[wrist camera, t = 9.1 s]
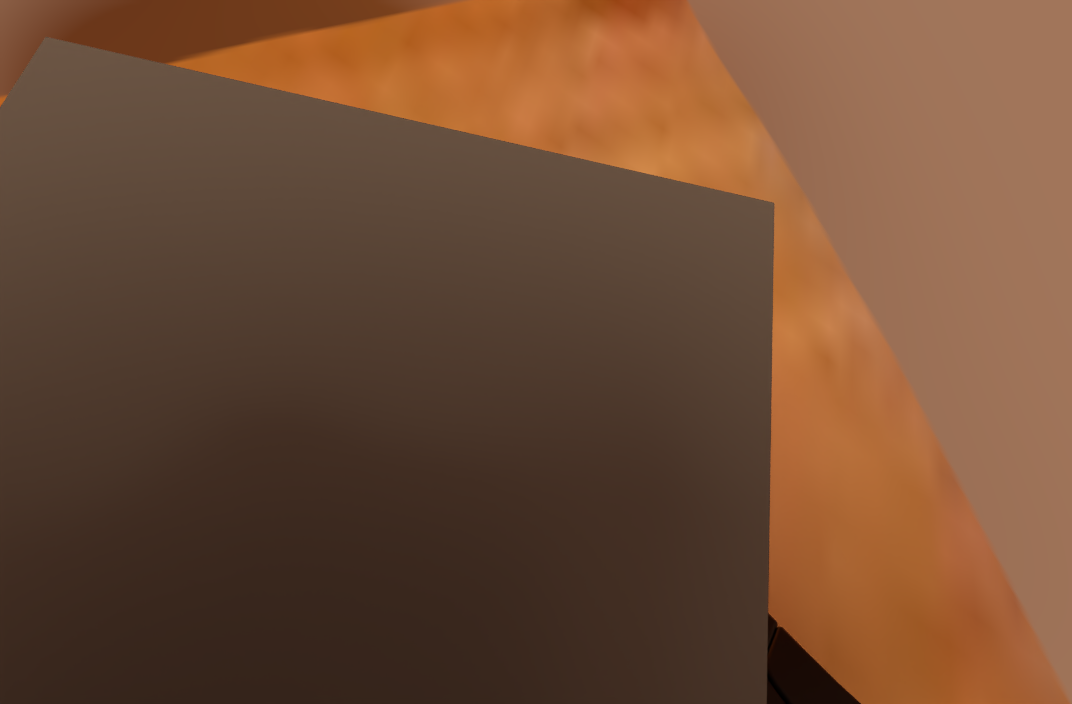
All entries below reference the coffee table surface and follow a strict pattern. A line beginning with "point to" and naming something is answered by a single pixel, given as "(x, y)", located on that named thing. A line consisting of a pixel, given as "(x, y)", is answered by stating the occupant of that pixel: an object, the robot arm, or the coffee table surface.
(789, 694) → the robot arm
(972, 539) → the coffee table surface
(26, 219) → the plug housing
